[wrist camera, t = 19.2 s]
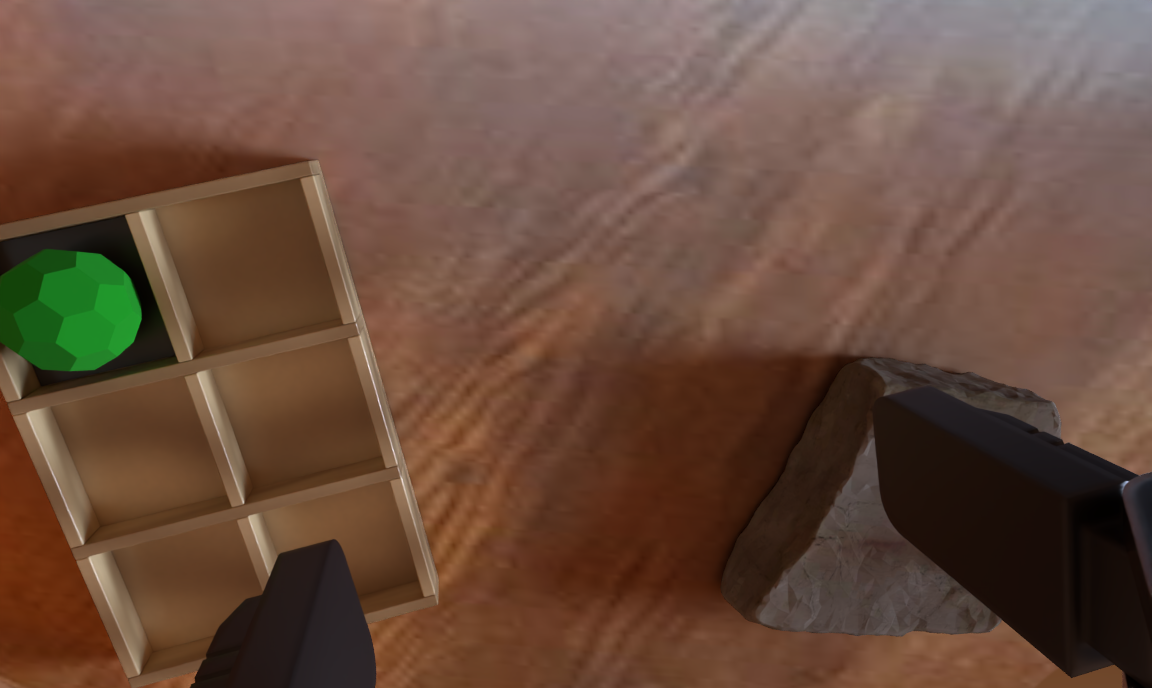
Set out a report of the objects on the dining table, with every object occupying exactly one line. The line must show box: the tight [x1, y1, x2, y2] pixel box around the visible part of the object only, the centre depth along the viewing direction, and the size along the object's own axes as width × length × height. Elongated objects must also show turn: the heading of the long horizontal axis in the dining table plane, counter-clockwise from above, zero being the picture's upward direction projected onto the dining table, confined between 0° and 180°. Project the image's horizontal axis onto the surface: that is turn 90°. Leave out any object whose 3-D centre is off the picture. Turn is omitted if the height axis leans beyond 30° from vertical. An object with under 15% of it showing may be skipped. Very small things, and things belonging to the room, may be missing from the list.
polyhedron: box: [0, 249, 142, 371], centre depth 30 cm, size 5×5×5 cm
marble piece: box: [721, 357, 1061, 636], centre depth 41 cm, size 17×15×4 cm
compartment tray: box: [0, 160, 439, 688], centre depth 35 cm, size 22×15×2 cm
